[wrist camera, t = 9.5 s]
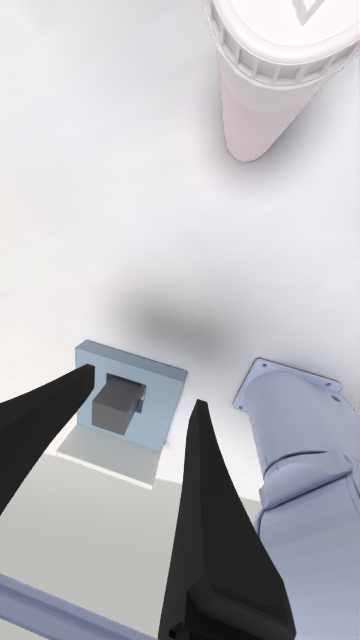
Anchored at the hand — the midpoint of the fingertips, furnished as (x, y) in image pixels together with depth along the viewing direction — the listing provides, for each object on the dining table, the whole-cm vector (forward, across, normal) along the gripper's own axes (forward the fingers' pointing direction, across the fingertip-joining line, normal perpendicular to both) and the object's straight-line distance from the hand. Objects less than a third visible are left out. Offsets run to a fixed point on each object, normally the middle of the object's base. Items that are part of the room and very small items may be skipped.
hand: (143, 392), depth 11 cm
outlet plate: (+9, +4, +13) cm, 17 cm away
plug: (+10, +4, +10) cm, 14 cm away
